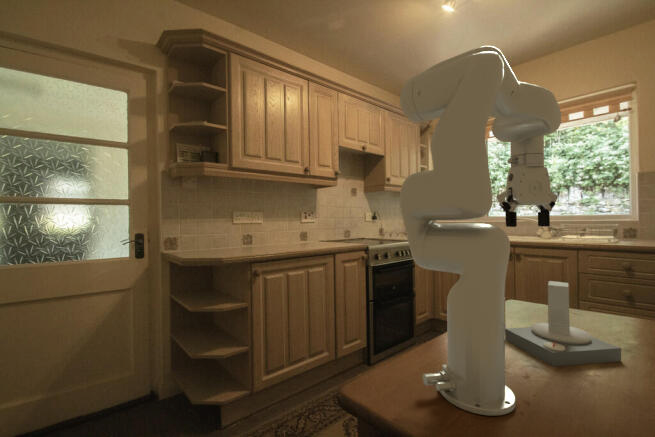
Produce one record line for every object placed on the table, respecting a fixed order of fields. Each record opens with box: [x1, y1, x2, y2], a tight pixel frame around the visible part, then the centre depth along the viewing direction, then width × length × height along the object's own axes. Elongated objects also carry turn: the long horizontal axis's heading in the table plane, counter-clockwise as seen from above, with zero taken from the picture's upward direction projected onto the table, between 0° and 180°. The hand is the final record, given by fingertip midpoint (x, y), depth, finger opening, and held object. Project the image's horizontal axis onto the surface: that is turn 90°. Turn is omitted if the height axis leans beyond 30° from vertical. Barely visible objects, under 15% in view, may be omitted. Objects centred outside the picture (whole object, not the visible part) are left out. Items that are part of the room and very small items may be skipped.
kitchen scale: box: [505, 322, 622, 368], centre depth 75 cm, size 17×15×4 cm
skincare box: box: [547, 280, 571, 336], centre depth 77 cm, size 6×4×12 cm
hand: (527, 226), depth 82 cm, fingers open, 9 cm apart
